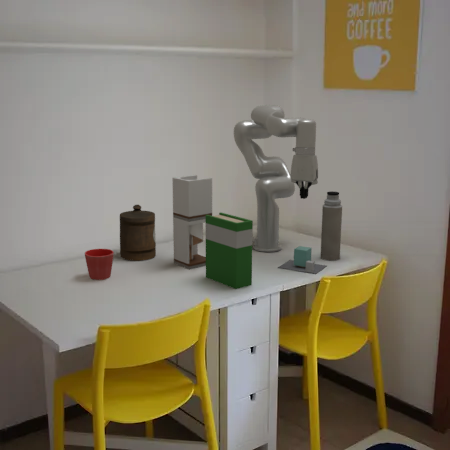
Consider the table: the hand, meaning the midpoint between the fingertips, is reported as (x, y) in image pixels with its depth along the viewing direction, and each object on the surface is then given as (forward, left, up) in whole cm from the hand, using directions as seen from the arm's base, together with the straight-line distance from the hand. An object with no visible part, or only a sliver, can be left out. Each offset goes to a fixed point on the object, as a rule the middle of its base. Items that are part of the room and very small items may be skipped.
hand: (303, 198), depth 248 cm
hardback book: (-15, -34, -27) cm, 46 cm away
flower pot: (-59, -54, -27) cm, 85 cm away
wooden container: (-64, -24, -27) cm, 74 cm away
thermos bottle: (+7, +14, -27) cm, 31 cm away
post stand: (+2, -4, -27) cm, 27 cm away
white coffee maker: (-38, -22, -27) cm, 52 cm away
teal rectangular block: (+2, -4, -26) cm, 26 cm away
